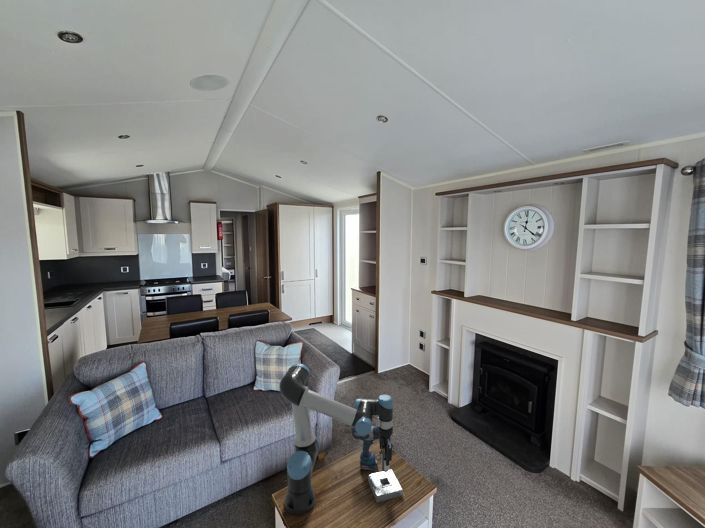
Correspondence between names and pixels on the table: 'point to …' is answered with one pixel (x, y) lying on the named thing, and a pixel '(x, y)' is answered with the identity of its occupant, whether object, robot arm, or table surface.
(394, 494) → the socket block
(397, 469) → the table surface
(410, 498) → the table surface
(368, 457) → the impact wrench
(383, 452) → the flashlight
